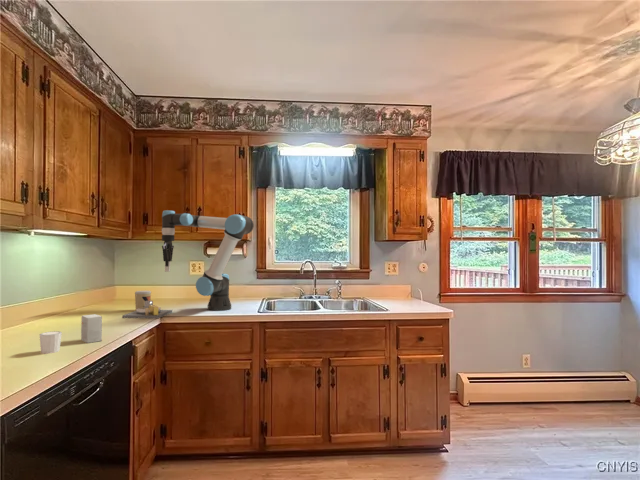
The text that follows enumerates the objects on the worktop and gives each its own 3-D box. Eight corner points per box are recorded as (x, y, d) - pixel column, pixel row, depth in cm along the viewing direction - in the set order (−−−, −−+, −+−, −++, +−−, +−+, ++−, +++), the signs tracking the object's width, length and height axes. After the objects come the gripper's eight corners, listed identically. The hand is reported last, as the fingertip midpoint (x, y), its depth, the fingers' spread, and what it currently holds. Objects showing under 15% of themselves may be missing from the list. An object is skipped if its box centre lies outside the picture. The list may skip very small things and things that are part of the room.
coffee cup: (144, 312, 229) (144, 292, 229) (131, 311, 231) (131, 291, 231) (154, 309, 238) (154, 290, 238) (141, 309, 240) (141, 290, 240)
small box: (101, 341, 158) (102, 316, 158) (86, 343, 154) (87, 317, 154) (95, 338, 163) (95, 313, 163) (80, 340, 159) (81, 315, 159)
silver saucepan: (133, 311, 219) (133, 300, 220) (156, 309, 228) (156, 298, 228) (143, 316, 205) (144, 304, 205) (167, 313, 214) (168, 302, 214)
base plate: (172, 312, 229) (172, 303, 229) (157, 318, 209) (158, 308, 209) (140, 311, 229) (140, 303, 229) (122, 318, 209) (122, 308, 209)
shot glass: (38, 355, 137) (39, 336, 137) (39, 350, 142) (39, 332, 142) (61, 352, 141) (62, 333, 141) (61, 348, 146) (61, 330, 146)
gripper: (166, 235, 245) (166, 270, 245) (157, 234, 232) (157, 272, 231) (178, 235, 245) (177, 271, 244) (169, 234, 232) (169, 272, 231)
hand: (167, 271), depth 238 cm, fingers closed
